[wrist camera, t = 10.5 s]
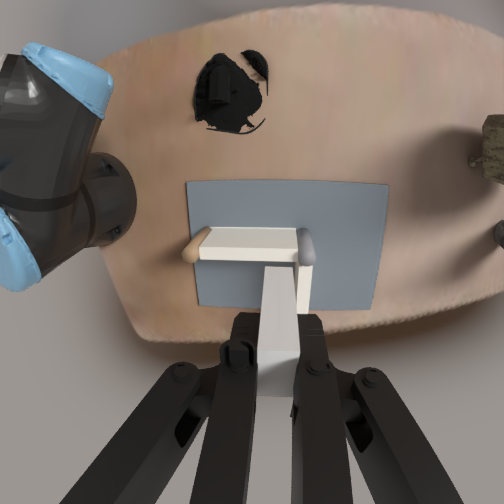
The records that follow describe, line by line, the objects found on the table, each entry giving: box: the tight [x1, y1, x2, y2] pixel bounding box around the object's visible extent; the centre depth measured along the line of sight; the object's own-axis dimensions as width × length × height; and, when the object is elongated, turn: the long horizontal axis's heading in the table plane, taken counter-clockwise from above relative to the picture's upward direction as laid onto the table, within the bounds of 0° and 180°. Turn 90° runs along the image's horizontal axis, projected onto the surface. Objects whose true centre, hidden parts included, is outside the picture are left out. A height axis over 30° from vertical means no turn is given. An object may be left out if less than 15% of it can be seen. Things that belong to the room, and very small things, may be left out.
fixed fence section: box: [182, 226, 316, 267], centre depth 35 cm, size 16×2×9 cm, turn 91°
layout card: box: [187, 179, 389, 310], centre depth 39 cm, size 28×20×1 cm
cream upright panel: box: [294, 261, 313, 314], centre depth 37 cm, size 11×2×7 cm, turn 1°
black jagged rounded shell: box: [194, 50, 268, 134], centre depth 30 cm, size 12×10×5 cm
